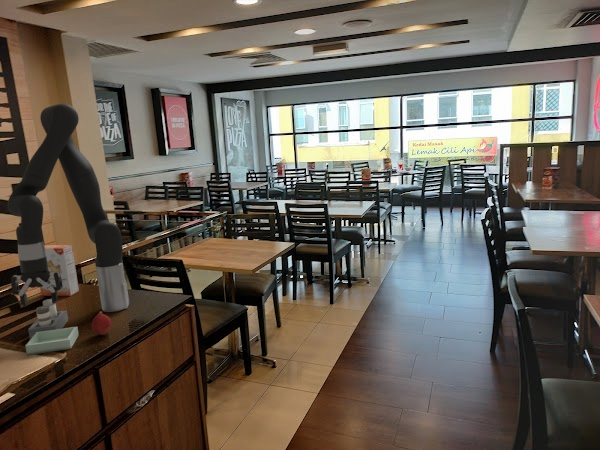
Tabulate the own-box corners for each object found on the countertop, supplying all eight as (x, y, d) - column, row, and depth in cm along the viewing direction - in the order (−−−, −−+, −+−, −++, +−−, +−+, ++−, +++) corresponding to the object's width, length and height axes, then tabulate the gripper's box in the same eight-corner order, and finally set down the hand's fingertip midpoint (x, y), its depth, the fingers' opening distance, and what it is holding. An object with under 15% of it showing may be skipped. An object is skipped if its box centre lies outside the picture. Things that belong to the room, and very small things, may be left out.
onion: (93, 340, 138) (90, 316, 137) (93, 334, 143) (89, 311, 142) (113, 336, 141) (110, 312, 139) (112, 329, 146) (108, 307, 144)
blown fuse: (54, 330, 148) (50, 305, 146) (51, 334, 145) (46, 309, 143) (42, 332, 147) (38, 306, 146) (39, 336, 144) (34, 310, 142)
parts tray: (78, 335, 143) (77, 326, 143) (70, 348, 134) (69, 339, 133) (38, 340, 140) (36, 332, 140) (27, 355, 131) (25, 345, 130)
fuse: (60, 322, 155) (56, 298, 153) (57, 326, 151) (53, 301, 150) (48, 323, 154) (44, 299, 152) (45, 328, 150) (41, 303, 149)
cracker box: (40, 296, 184) (31, 248, 180) (50, 291, 190) (42, 244, 186) (70, 296, 182) (62, 247, 178) (79, 291, 188) (72, 244, 184)
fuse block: (68, 319, 157) (66, 310, 156) (57, 335, 143) (55, 325, 143) (43, 323, 155) (41, 313, 154) (29, 339, 142) (28, 329, 141)
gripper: (60, 251, 146) (67, 298, 149) (12, 255, 143) (20, 303, 146) (53, 257, 139) (60, 305, 142) (3, 261, 136) (11, 311, 139)
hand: (40, 304), depth 144 cm, fingers open, 8 cm apart
